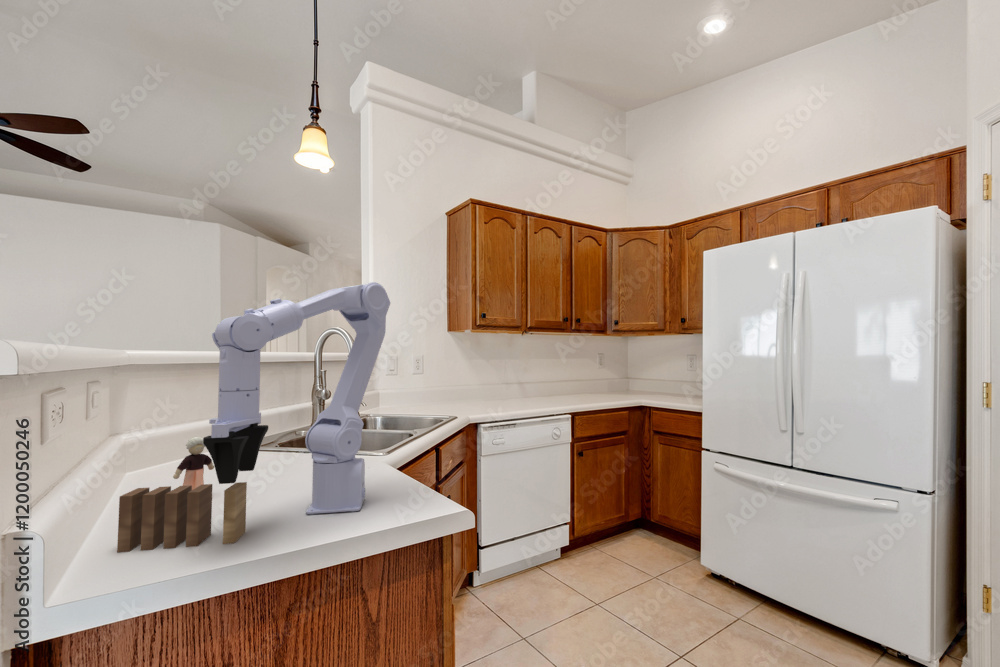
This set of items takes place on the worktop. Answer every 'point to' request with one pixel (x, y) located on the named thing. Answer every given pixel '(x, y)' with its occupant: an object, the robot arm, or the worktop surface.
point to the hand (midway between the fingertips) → (237, 476)
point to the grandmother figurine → (194, 464)
